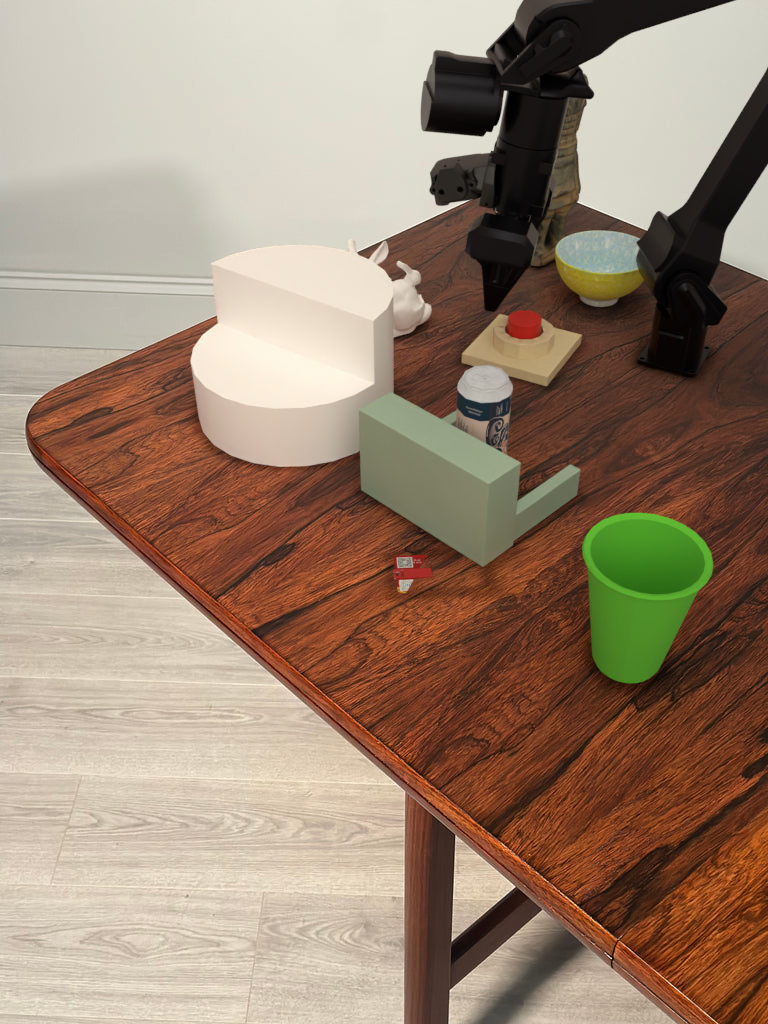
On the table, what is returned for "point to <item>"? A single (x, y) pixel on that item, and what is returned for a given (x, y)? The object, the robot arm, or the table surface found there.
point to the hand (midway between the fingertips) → (497, 291)
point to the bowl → (599, 265)
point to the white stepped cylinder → (293, 353)
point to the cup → (640, 590)
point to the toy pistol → (409, 570)
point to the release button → (524, 324)
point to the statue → (561, 185)
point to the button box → (523, 351)
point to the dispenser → (451, 479)
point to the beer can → (485, 405)
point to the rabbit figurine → (402, 294)
